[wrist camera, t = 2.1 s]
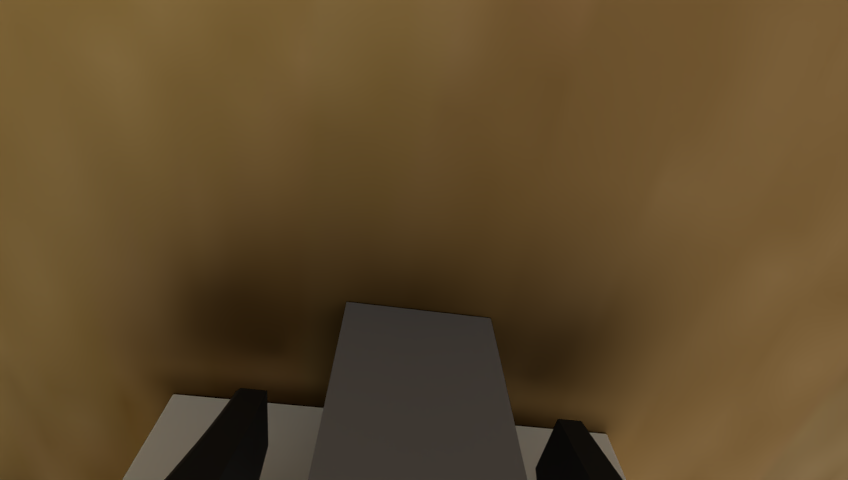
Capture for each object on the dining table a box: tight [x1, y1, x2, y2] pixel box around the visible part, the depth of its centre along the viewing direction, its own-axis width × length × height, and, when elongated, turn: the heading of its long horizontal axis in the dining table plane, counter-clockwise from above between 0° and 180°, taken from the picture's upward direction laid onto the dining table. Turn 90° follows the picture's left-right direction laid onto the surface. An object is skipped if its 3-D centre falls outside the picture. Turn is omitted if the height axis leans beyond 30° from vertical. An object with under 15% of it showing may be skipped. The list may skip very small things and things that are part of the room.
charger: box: [308, 302, 527, 480], centre depth 11 cm, size 4×6×5 cm
